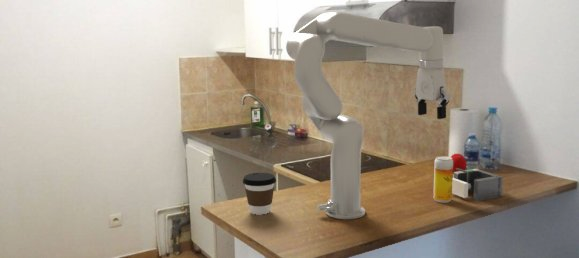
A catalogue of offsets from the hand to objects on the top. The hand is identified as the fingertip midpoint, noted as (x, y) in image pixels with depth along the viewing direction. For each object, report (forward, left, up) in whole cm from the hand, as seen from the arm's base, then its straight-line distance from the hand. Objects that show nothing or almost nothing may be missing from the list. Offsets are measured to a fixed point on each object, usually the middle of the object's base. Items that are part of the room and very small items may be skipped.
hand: (431, 116), depth 185 cm
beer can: (+4, -2, -30) cm, 30 cm away
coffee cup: (-56, +16, -30) cm, 65 cm away
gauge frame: (+19, -2, -29) cm, 35 cm away
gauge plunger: (+13, 0, -28) cm, 31 cm away
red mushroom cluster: (+25, +15, -30) cm, 42 cm away
